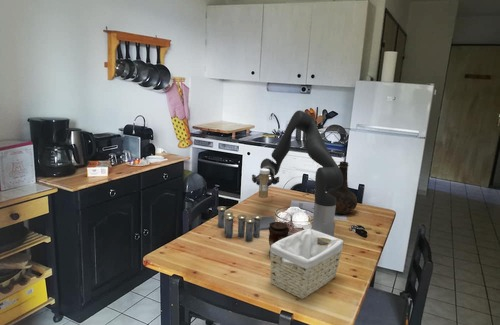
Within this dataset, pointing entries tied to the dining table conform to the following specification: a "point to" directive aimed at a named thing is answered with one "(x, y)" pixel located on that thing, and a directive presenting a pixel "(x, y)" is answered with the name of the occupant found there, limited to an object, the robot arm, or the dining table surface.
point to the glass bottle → (344, 193)
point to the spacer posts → (239, 224)
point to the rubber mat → (266, 222)
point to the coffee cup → (277, 232)
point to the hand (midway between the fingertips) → (263, 183)
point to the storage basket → (304, 262)
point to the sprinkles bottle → (264, 183)
